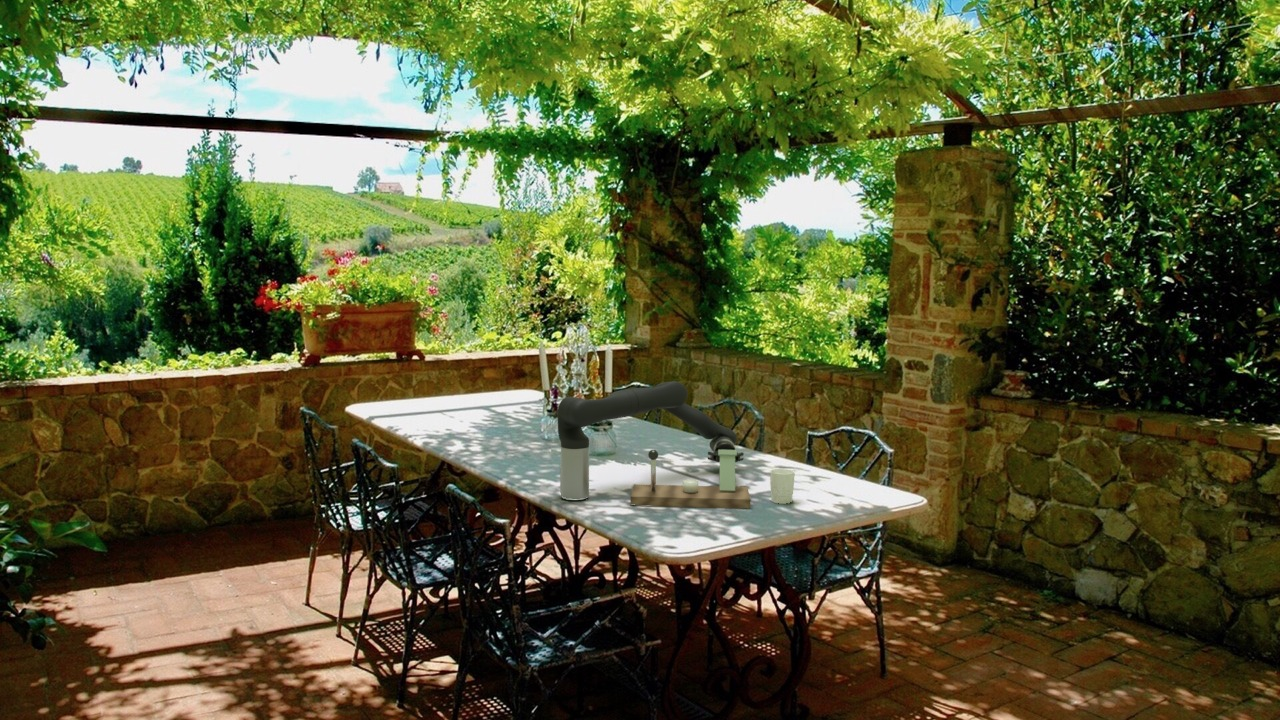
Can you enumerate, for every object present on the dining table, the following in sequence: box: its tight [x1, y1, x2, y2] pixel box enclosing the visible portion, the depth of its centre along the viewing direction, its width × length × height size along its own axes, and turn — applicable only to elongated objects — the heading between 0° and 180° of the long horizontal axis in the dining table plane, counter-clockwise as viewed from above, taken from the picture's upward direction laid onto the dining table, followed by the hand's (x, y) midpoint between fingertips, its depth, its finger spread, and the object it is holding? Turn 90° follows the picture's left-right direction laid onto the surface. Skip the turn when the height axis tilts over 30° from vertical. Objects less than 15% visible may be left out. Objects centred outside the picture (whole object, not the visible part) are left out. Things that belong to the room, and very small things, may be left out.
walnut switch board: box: [630, 483, 751, 510], centre depth 314 cm, size 38×16×3 cm, turn 87°
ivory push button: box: [682, 479, 699, 493], centre depth 314 cm, size 5×5×3 cm
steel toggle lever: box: [647, 449, 659, 491], centre depth 310 cm, size 3×3×16 cm
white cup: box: [769, 468, 796, 505], centre depth 314 cm, size 8×8×10 cm
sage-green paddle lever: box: [718, 449, 738, 491], centre depth 316 cm, size 6×2×13 cm, turn 87°
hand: (726, 461), depth 323 cm, fingers closed
